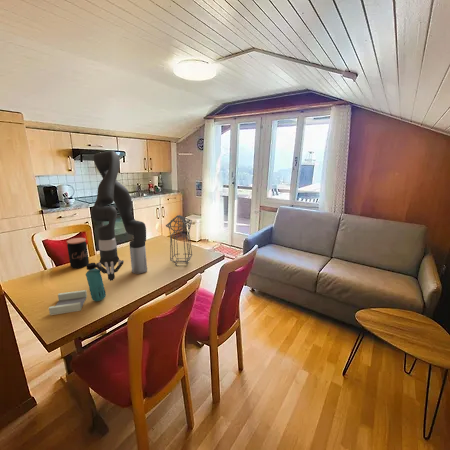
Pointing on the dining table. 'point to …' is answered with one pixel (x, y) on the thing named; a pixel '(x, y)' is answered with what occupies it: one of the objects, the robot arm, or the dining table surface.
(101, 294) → the beverage bottle
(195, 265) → the dining table surface
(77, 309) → the cradle
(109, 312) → the dining table surface
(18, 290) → the dining table surface
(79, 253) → the coffee jar
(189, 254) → the geometric lantern
